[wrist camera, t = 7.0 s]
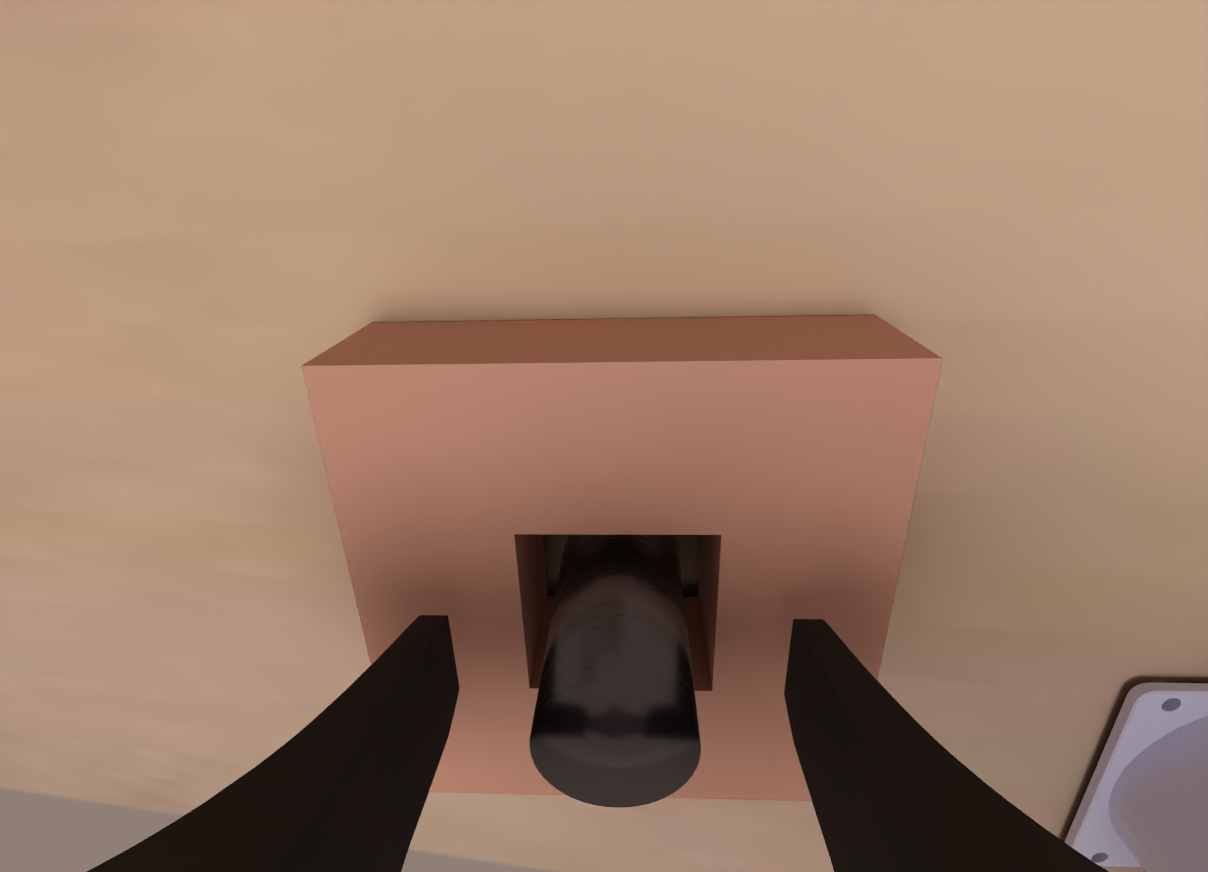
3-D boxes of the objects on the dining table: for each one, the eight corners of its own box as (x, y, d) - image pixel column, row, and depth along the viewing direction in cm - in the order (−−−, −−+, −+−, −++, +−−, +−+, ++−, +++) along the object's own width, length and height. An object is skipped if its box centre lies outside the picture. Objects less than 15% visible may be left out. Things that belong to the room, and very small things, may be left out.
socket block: (874, 314, 14) (942, 358, 11) (816, 696, 19) (852, 801, 16) (371, 322, 15) (301, 366, 12) (438, 690, 20) (400, 791, 17)
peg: (676, 483, 17) (704, 686, 10) (674, 575, 18) (698, 809, 11) (565, 483, 17) (522, 683, 10) (570, 575, 18) (535, 805, 11)
